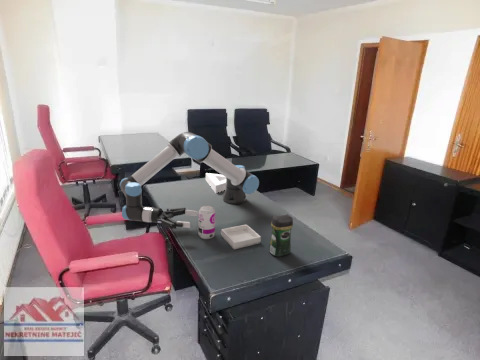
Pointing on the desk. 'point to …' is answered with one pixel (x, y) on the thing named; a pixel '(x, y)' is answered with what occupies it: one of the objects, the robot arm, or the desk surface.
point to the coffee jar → (281, 235)
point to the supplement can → (206, 222)
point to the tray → (240, 236)
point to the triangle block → (216, 182)
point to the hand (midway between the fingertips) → (194, 219)
